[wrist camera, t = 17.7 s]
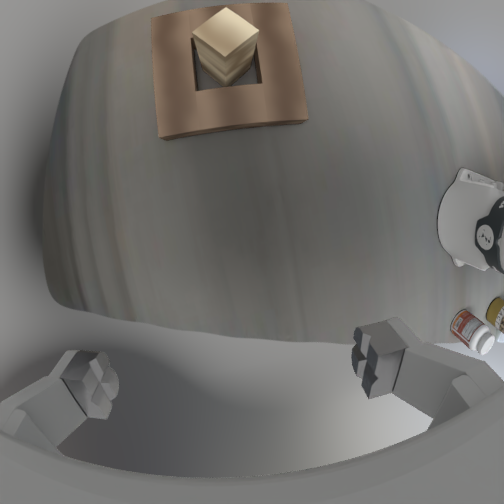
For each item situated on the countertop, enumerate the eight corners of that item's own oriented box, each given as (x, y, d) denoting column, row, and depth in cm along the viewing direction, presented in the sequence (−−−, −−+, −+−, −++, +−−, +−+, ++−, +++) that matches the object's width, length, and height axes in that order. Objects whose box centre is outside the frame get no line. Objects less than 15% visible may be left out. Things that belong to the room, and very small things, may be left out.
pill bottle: (466, 325, 49) (493, 349, 38) (448, 337, 49) (476, 363, 38) (469, 304, 47) (499, 327, 36) (451, 316, 47) (481, 341, 36)
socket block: (282, 15, 28) (287, 2, 25) (300, 123, 34) (308, 119, 30) (157, 30, 28) (151, 18, 24) (166, 140, 33) (158, 137, 29)
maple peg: (226, 49, 30) (226, 7, 19) (250, 68, 31) (259, 30, 20) (202, 70, 31) (191, 32, 19) (226, 89, 32) (225, 56, 20)
